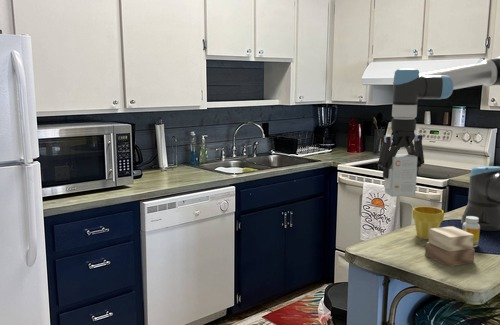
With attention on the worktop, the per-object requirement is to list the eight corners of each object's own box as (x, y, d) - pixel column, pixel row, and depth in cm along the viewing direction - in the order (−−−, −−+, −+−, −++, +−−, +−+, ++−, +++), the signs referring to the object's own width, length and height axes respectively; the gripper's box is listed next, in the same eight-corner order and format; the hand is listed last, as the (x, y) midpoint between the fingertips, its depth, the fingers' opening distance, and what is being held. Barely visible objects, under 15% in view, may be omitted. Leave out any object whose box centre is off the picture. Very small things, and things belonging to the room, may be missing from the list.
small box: (407, 191, 164) (409, 153, 162) (415, 196, 158) (418, 156, 156) (384, 192, 163) (386, 153, 161) (391, 197, 157) (393, 157, 155)
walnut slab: (449, 252, 160) (450, 239, 159) (473, 263, 150) (474, 249, 150) (425, 255, 156) (426, 242, 155) (447, 267, 147) (449, 252, 146)
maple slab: (451, 239, 158) (452, 226, 157) (472, 248, 150) (473, 234, 149) (428, 242, 155) (429, 228, 154) (448, 251, 147) (449, 237, 146)
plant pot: (405, 235, 175) (407, 209, 173) (420, 230, 181) (422, 204, 180) (432, 243, 167) (434, 215, 165) (447, 237, 174) (449, 210, 172)
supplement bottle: (457, 243, 167) (459, 216, 166) (468, 241, 169) (471, 214, 168) (470, 248, 162) (472, 220, 161) (481, 246, 164) (484, 218, 163)
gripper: (423, 116, 163) (419, 182, 167) (368, 118, 156) (365, 186, 160) (439, 118, 156) (434, 186, 160) (382, 120, 149) (378, 192, 153)
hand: (400, 186), depth 160 cm, fingers closed on small box, 9 cm apart
